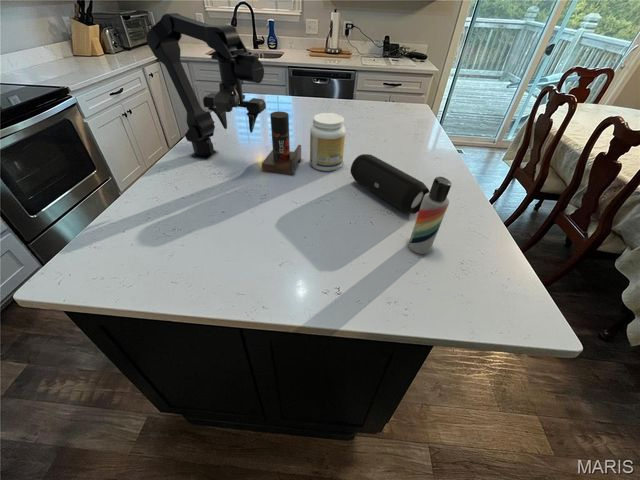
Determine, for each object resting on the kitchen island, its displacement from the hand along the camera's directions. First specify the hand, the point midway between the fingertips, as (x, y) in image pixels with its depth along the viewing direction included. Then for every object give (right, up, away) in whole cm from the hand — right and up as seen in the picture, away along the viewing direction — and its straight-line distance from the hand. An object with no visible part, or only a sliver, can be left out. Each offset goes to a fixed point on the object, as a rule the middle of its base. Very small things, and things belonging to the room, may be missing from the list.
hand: (238, 130), depth 97 cm
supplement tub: (+29, -8, +12) cm, 33 cm away
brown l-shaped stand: (+13, -9, +10) cm, 19 cm away
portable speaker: (+48, -22, -2) cm, 53 cm away
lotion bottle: (+53, -38, -20) cm, 68 cm away
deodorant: (+13, -7, +8) cm, 17 cm away
